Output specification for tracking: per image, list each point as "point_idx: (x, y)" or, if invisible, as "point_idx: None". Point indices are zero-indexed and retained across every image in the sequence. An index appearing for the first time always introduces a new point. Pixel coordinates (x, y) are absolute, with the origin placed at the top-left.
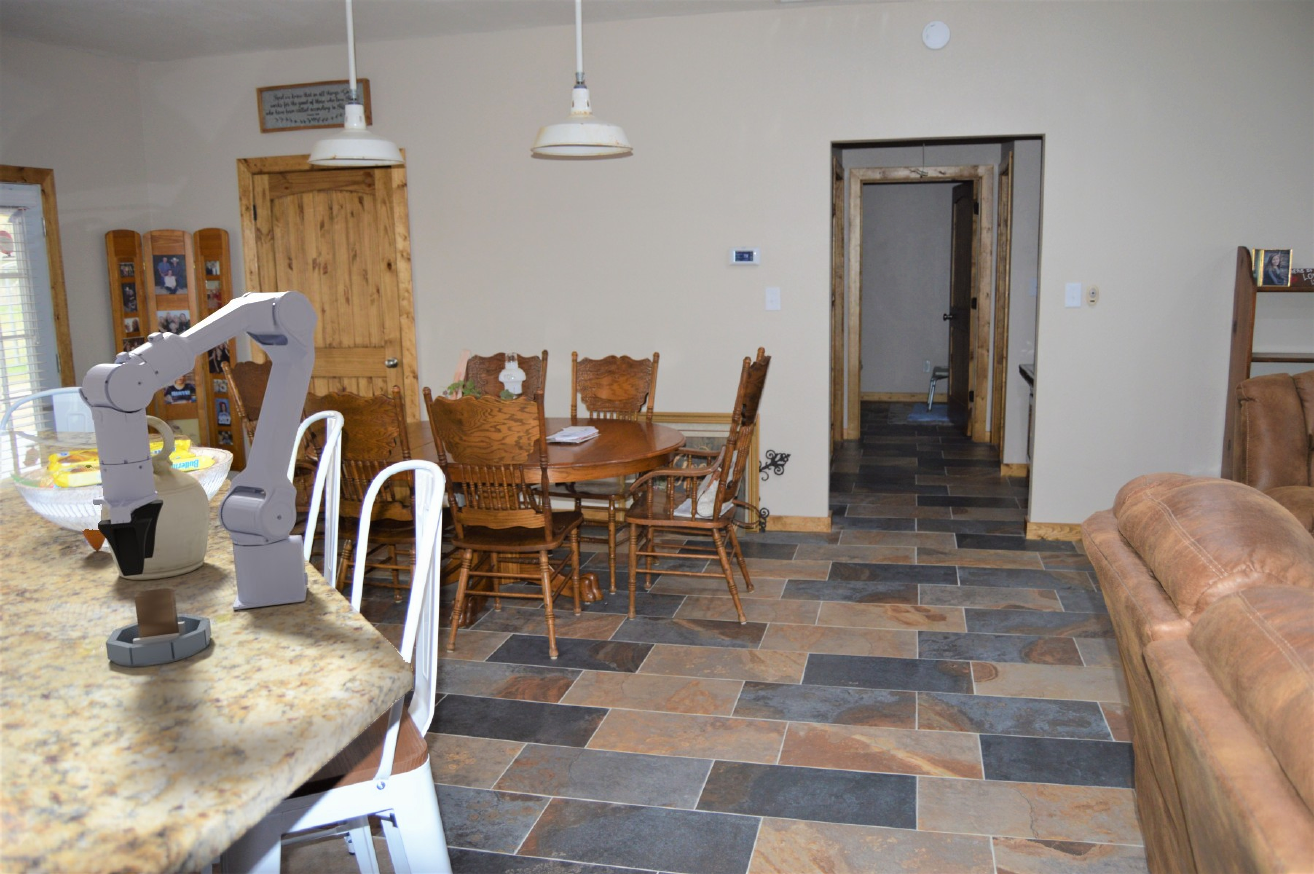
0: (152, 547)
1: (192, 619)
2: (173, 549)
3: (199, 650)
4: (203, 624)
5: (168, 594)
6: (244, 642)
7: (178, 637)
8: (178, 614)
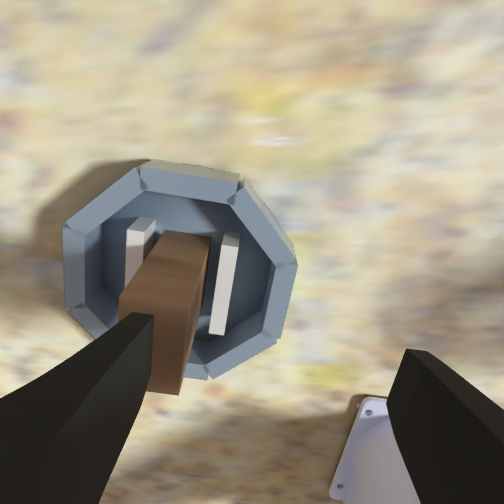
0: (402, 447)
1: (229, 349)
2: None
3: None
4: None
5: None
6: (150, 395)
7: (99, 321)
8: (282, 326)
